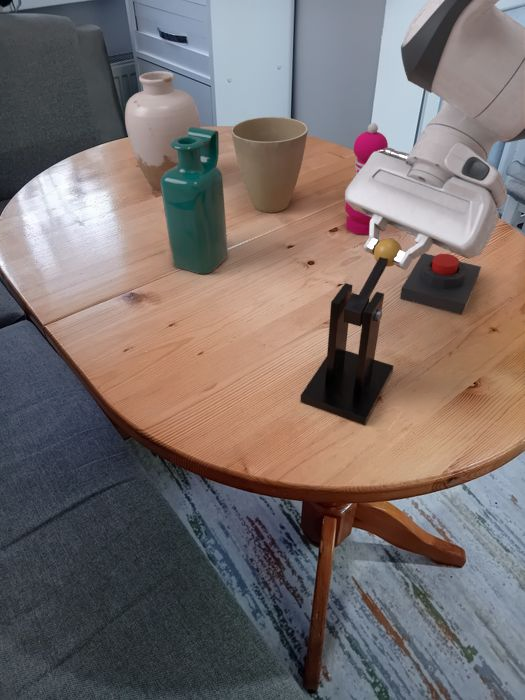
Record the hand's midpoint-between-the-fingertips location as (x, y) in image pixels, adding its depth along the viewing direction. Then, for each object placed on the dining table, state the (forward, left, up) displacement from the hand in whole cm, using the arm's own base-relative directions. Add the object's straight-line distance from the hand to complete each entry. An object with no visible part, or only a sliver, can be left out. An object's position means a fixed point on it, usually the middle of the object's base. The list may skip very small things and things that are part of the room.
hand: (384, 259), depth 70 cm
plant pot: (+35, -34, -15) cm, 51 cm away
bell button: (-5, -19, -11) cm, 22 cm away
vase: (+61, -34, -15) cm, 71 cm away
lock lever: (0, +4, -2) cm, 5 cm away
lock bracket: (0, +10, -14) cm, 18 cm away
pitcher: (+36, -9, -15) cm, 40 cm away
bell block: (-5, -19, -14) cm, 24 cm away
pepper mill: (+14, -33, -15) cm, 38 cm away
